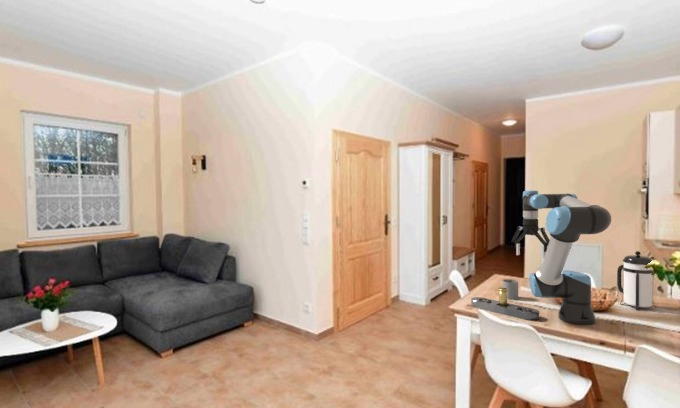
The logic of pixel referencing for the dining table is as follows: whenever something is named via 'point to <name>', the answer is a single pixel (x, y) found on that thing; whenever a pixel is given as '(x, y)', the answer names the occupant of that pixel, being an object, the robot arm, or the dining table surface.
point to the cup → (511, 288)
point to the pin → (503, 297)
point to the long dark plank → (505, 308)
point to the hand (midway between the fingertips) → (530, 256)
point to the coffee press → (636, 281)
